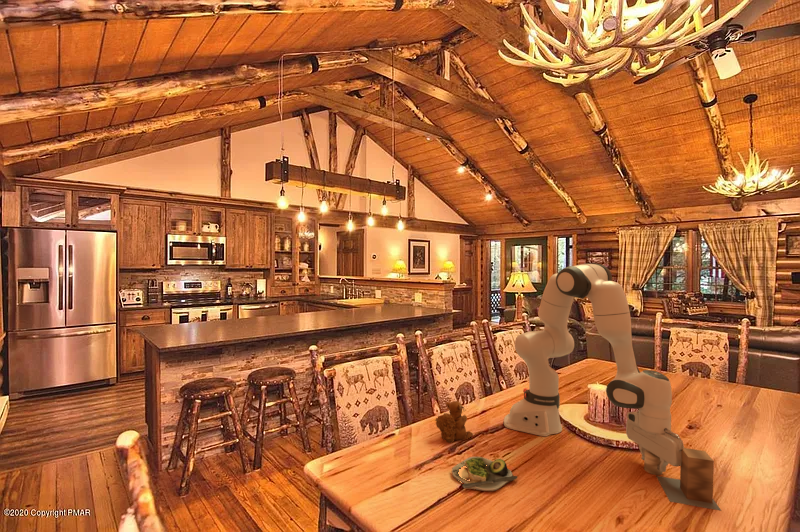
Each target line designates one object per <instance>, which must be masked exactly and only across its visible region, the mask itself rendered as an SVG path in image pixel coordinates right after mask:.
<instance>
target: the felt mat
mask: <svg viewBox="0 0 800 532" xmlns="http://www.w3.org/2000/svg"><path fill="white" fill-rule="evenodd" d="M655 477H656V478H657V480H658V483H659V484H660V486H661V489H662V490H663V492H664V493H665V495H666V498H667V499H668V501H669V502H670V503H676V504H681V505H686V506H687V505H688V506H692V507H698V508H703V509H709V510H716V511H721V512H722V509H721V508H720V507H719V505H718V504H717V502H716V501H715V500H714V499H713V503H707V502H702V501H696V500H690V499H687V498H686V496H685V495H684V493H683V491H682V490H681V488H680V478H679V479H678V478H674V477H673V478H672V477H666V476H662V475H655Z"/></svg>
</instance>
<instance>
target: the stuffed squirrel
mask: <svg viewBox="0 0 800 532" xmlns="http://www.w3.org/2000/svg"><path fill="white" fill-rule="evenodd" d="M445 405H446V407H447V408H448V411H449V413H447V412H445V413H443V414H441V415H438V416H437V417H436V418H435V420H434V421H435V425H436V428H438V429H439V430H440V436H441V438H442V440H443V441H445V440H446V441H445V442H448V443H451V442H452V443H453V442H454V441H465V439H467V440H469V439H471V438H472V437H473V435H474V434H473V432H472V431H471V430H469V431H467V428H466V425H465V424H466V422H467V421H468V417H467V415H466V414H463V415H462V413H463V411H464V412H465V411H467V410H466V408H465V407H464V406H463V405H462V403H461V402H460V401H457V400H454V401H453V400H452V401H450V402H448V401H446V402H445ZM470 437H471V438H470ZM468 438H469V439H468Z"/></svg>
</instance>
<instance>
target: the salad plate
mask: <svg viewBox="0 0 800 532" xmlns="http://www.w3.org/2000/svg"><path fill="white" fill-rule="evenodd" d="M486 465H487V466H486ZM463 466H466V467H467V468H466V469H467V475H468V479H469V478H470V481H467V480H465V479H466V478H465V479H463V478H464V477H463V478H461V477H460V476H459V474H458V472H459V469H461V467H463ZM451 475H452V477H453V478H454V479H456V481H458V480H459V481H461V482H462V483H464V484H462V483H461V484H462V488H463V489H467V490H470V489H472V490H475V489H476V490H477V491H483V492H485V491H486V492H493V491H497V490H499V489H500V488H502V487H503V486H505V485H507V484H508V483H510V482H512V481H515V480H517V479H518V478H519V477H518V475H514V474H513V472H512V470H511V469H509V468H508V465H507V463H506V461H505V460H504V459H501V458H497V459H494V460H493V461H492V460H491V459H488V458H486V457H483V456H470V457H467V458H465V459H464V460H463V461H461V462H459V463H457V464H456V465H454V466H453V467H452V468H451ZM459 481H458V482H459Z"/></svg>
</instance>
